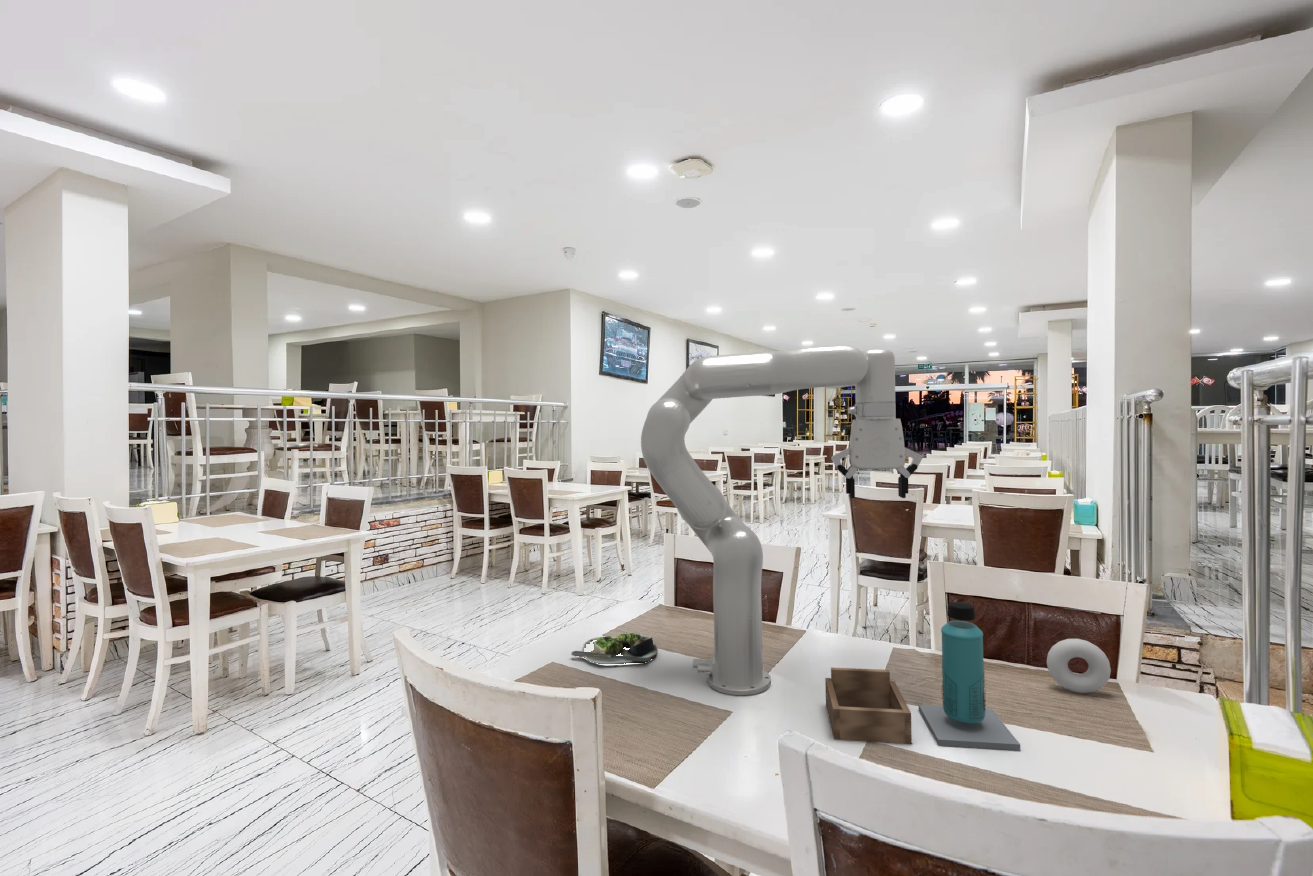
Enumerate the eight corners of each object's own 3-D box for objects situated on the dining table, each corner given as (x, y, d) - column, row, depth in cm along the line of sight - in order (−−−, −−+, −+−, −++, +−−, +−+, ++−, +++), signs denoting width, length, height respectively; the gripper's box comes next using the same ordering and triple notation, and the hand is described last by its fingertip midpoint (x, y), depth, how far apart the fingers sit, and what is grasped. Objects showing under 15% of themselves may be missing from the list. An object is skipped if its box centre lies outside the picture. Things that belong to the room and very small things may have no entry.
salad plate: (572, 676, 127) (571, 654, 127) (570, 645, 144) (570, 626, 144) (662, 667, 130) (662, 646, 130) (650, 639, 147) (650, 620, 147)
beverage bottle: (991, 734, 97) (990, 610, 96) (947, 731, 98) (945, 609, 98) (978, 715, 103) (977, 598, 103) (937, 712, 104) (935, 597, 104)
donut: (1108, 692, 113) (1108, 639, 112) (1113, 700, 109) (1113, 645, 109) (1045, 684, 117) (1044, 632, 117) (1048, 691, 114) (1047, 638, 113)
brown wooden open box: (833, 739, 98) (833, 696, 98) (825, 705, 110) (825, 667, 110) (911, 744, 96) (910, 700, 96) (894, 708, 108) (894, 670, 108)
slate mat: (938, 745, 96) (938, 739, 96) (918, 710, 108) (918, 704, 107) (1020, 750, 94) (1020, 744, 94) (991, 714, 105) (991, 708, 105)
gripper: (833, 413, 119) (834, 500, 119) (926, 410, 116) (927, 499, 116) (828, 413, 126) (830, 495, 126) (916, 411, 123) (917, 495, 123)
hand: (876, 497), depth 121 cm, fingers open, 9 cm apart
